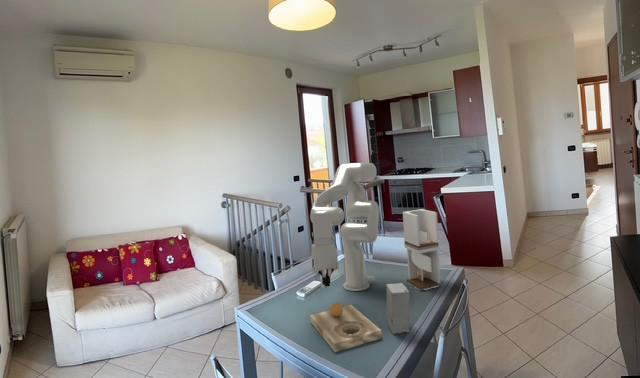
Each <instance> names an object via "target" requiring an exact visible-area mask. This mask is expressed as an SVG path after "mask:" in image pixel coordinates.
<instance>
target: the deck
mask: <svg viewBox="0 0 640 378" xmlns="http://www.w3.org/2000/svg"><path fill="white" fill-rule="evenodd" d="M342 307H343V313H342V314H341V315H340V316H333V315H332V314H331V312H330V309H329V310H325V311H321V312H318V313H314V314H310V315H309V317H310V323H311V325H312V326H313V327H314V328H315V330H316V331H317V332H318V333H319V335H320V336H321V337H322V338H323V339H324V340H325V343H326V344H328V345H329V347H330V348H331V350H333V352H334V353H338V352H341V351H344V350H348V349H351V348H355V347H357V346H361V345H363V344H367V343H370V342H374V341H377V340H381V339H383V336H382V329H380V328H379V326H377V325H376V324H375V323H373V322H372V321H371V320H370V319H369V318H367V317H366V316H365V315H364V314H363V313H361V312H360V311H359V310H358V308H356V307H355V306H353V305H352V304H348V305H344V306H342Z"/></svg>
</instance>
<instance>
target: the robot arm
mask: <svg viewBox="0 0 640 378" xmlns="http://www.w3.org/2000/svg"><path fill="white" fill-rule="evenodd" d="M376 177H377V167H376V165H375V164H374V163H372V162H370V163H368V162H352V163H342V164H340V165H339V166H338V167H337V169H336V172H335V174H334V177H333V180H332V182H331V185H330V187H328V188H327V189H325V190H324V191H323V192H322V193H320V194H319V195H318V196H317V197H316V198H315V199H314V201H313V204H312V207H311V208H310V214H309V217H310V218H309V219H310V221H311V223H312V229H313V230H312V231H313V244H312V246H311V258H310V259H311V260H310V261H311V265H310V266H311V268H312V273H313V274H315V275H320V276H321V283H322V285H323V286H324V287H325V288H327V287H330V286H331V285H330V284H331V276H332V274H333V272H334V271H338V269H339V266H338V265H339V259H338V251H337V248H336V245H335V242H334V241H336V240H337V239H336V236H334V235H333V227H334V226H340V225H341V224H342V223H343V222H344V220H345V216H346V218H347V219H348V220H352V221H350V222H349V221H348V222H345V223H343V224H342V225H341V227H340V231H339V232H340V237H341V241H342V245H343V254H344V269H345V271H344V272H345V280H346V281H345V282H344V283H343V285H342V287H343V288H344V289H345V290H346V291H351V292H361V291H364V290H365V291H366V289H369V287H370V281H374V280H375V279H376V277H375V275H369V274H367V275H366V259H365V252H364V248H363V245H362V244H373V243H375V242H376V241H377V239H378V231H379V219H380V207H379V204H378V202H377V201H375V200H371V199H370V200H366V190H365V188H364V187H363V185H362V184H361V183H360V182H372V181H374V180H375V179H376ZM345 198H347V200H346V206H345V207H346V209H345V212H344V210H343V208H341V207H340V206H339V207H338V206H329V205H330V204H333V203H335V202H338V201H340V200H342V199H345ZM345 214H346V215H345ZM358 221H367V222H358Z"/></svg>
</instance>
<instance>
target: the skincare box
mask: <svg viewBox="0 0 640 378" xmlns="http://www.w3.org/2000/svg"><path fill="white" fill-rule="evenodd" d="M385 288H386V321H385V322H386V324H387V327H388V328H389V330H390V332H391V334H392V335H395V334H396V333H397V334H403V333H402V332H407V333H409V332H410V291H409V289H408V288H407V286H405V285H404V283H402V282H400V283H399V282H398V283H387V284H386V285H385ZM408 331H409V332H408Z"/></svg>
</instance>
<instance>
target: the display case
mask: <svg viewBox="0 0 640 378" xmlns="http://www.w3.org/2000/svg"><path fill="white" fill-rule="evenodd" d="M402 220H403V224H402V225H403V239H404V248H405V249H406V253H407V255H406V256H407V272H408V276H407V277H408V278H407V279H406V284H407V283H408V284H410V285H412V286H414V287H416V288H417V289H419V290H424V289H427V288H431V287H434V286H438V285H440V286H441V274H440V273H441V272H440V253H439V252H440V250H439V247H440V246H439V229H438V228H439V227H438V226H439V225H438V212H436V211H432V210H427V209H424V208H421V209H414V210H413V209H412V210H407V211H402ZM408 284H407V285H408ZM410 285H409V286H410ZM412 286H411V287H412ZM417 289H416V290H417Z"/></svg>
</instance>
